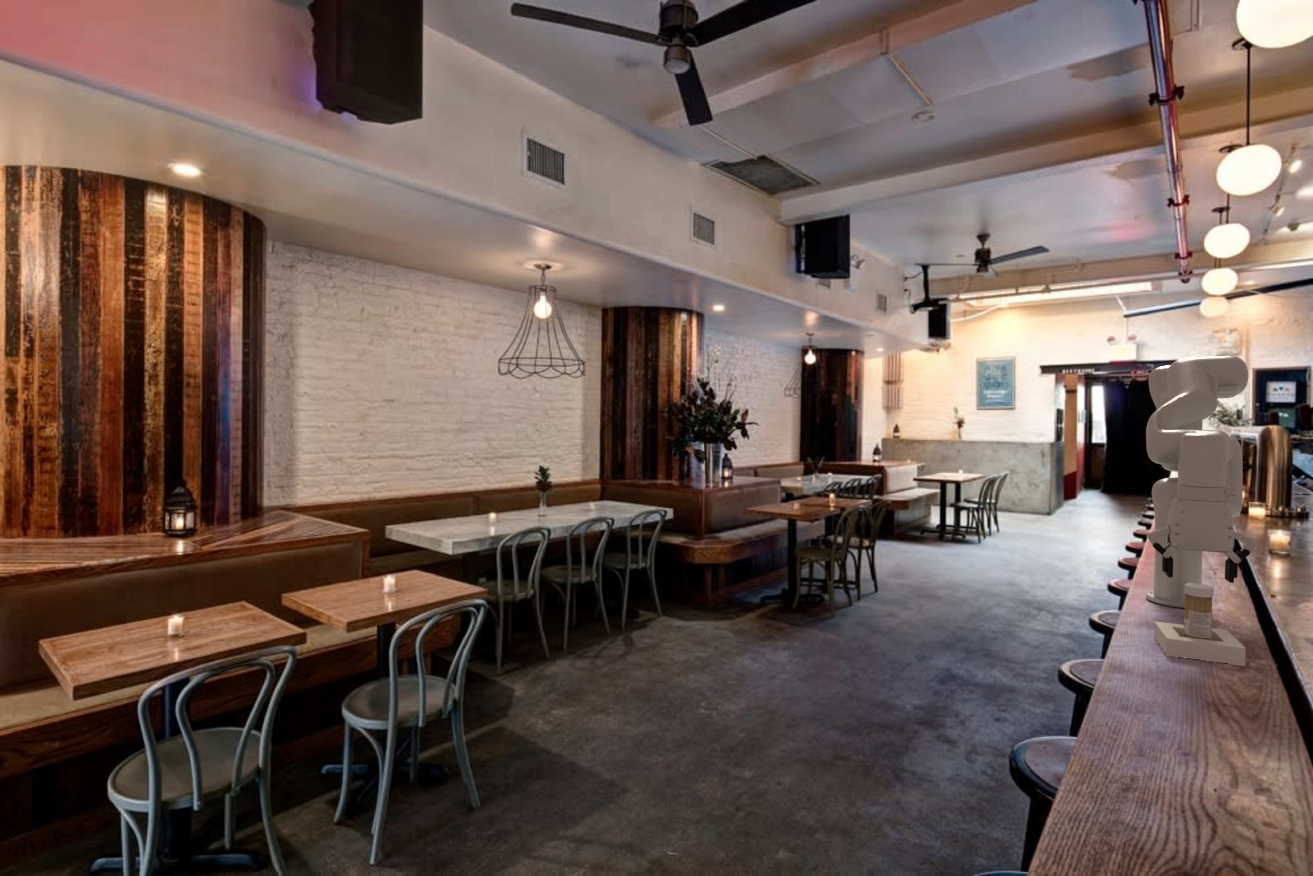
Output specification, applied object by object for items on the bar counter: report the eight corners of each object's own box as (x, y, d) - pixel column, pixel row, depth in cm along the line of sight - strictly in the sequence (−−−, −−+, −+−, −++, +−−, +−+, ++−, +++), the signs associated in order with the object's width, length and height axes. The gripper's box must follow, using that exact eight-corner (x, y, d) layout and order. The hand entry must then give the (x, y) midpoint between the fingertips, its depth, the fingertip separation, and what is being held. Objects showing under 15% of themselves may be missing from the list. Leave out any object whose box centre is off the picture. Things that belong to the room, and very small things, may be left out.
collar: (1154, 637, 142) (1154, 621, 142) (1226, 646, 136) (1226, 629, 136) (1166, 655, 131) (1167, 638, 131) (1245, 666, 126) (1245, 648, 126)
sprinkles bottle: (1185, 645, 137) (1187, 581, 137) (1214, 651, 134) (1216, 585, 133) (1180, 650, 134) (1181, 584, 134) (1208, 656, 131) (1210, 589, 130)
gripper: (1251, 494, 132) (1248, 578, 133) (1144, 489, 140) (1142, 569, 141) (1264, 499, 125) (1261, 588, 126) (1151, 494, 133) (1149, 578, 134)
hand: (1198, 578), depth 134 cm, fingers open, 9 cm apart
